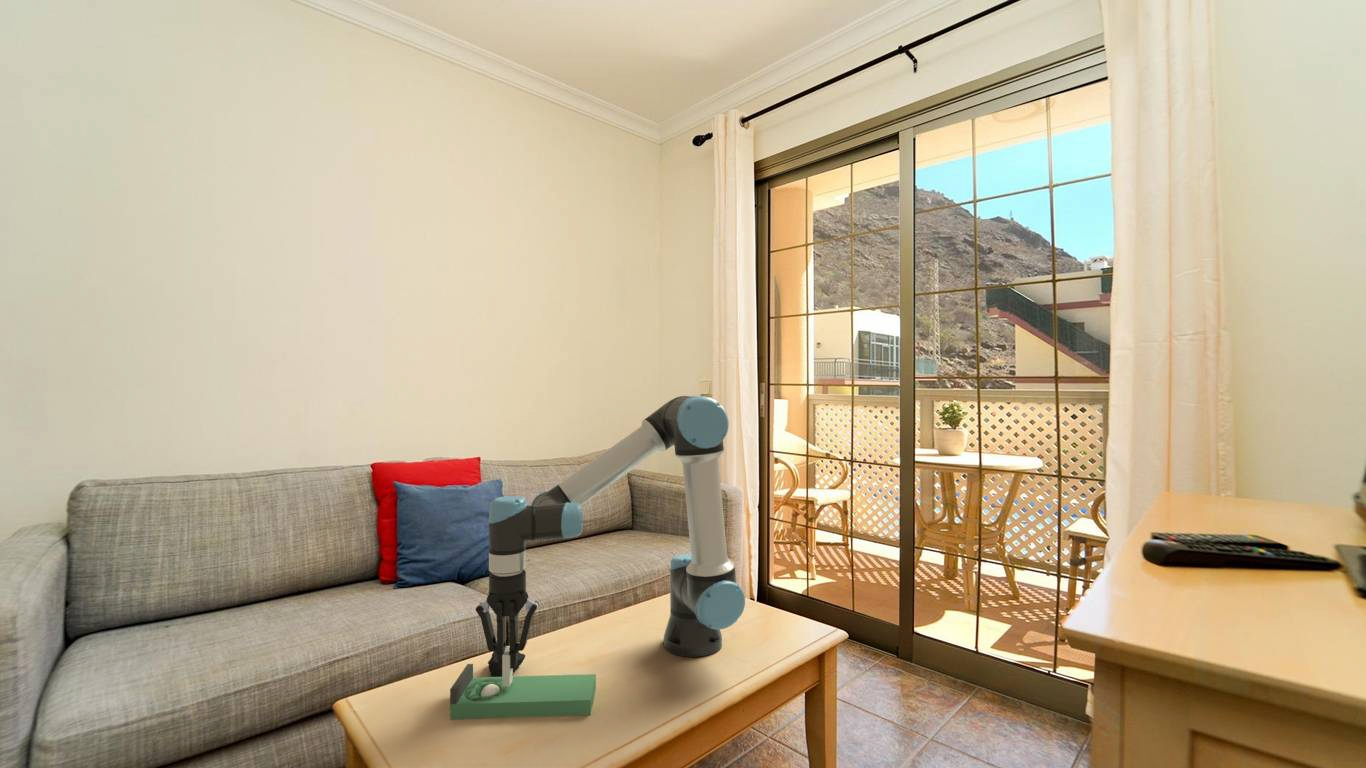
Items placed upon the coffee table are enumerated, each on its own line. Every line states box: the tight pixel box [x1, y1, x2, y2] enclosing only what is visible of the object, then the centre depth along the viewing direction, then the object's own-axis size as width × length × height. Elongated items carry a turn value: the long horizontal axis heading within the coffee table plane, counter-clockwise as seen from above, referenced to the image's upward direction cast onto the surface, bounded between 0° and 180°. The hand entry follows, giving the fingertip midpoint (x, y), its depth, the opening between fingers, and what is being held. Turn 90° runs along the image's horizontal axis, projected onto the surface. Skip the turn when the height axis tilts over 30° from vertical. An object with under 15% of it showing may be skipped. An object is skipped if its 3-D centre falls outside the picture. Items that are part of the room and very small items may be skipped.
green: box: [449, 663, 597, 720], centre depth 124 cm, size 28×11×6 cm, turn 93°
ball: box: [481, 684, 500, 696], centre depth 123 cm, size 4×4×4 cm
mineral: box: [487, 645, 526, 677], centre depth 137 cm, size 10×9×6 cm
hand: (507, 683), depth 124 cm, fingers closed
